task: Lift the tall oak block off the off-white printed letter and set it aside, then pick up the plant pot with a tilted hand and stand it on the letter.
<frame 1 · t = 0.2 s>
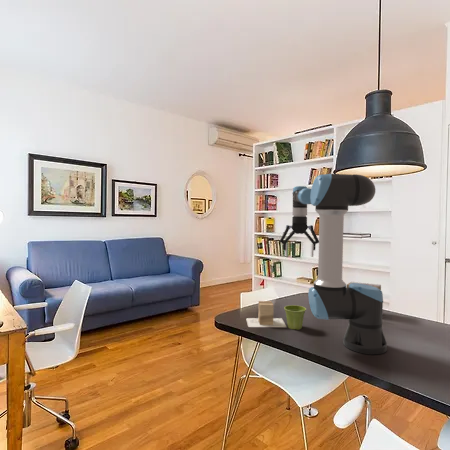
hand: (299, 256, 171), 28 cm above the table, tool pointing down, fingers open, 13 cm apart
tea box: (363, 313, 165), on the table
oak block: (265, 322, 149), resting on letter
letter: (265, 322, 149), on the table
plant pot: (294, 328, 143), on the table
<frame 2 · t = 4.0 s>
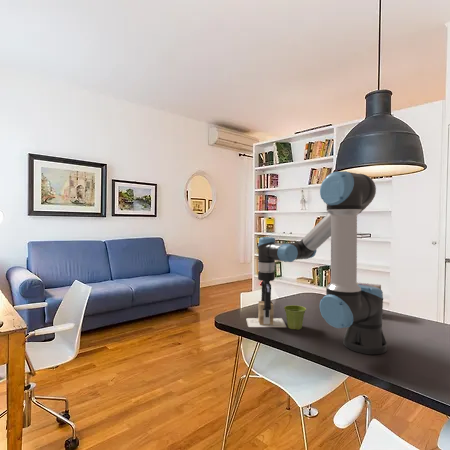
hand: (265, 321, 149), 1 cm above the table, tool pointing down, fingers closed on oak block, 6 cm apart
oak block: (265, 322, 149), resting on letter, touching gripper
everything else where it was.
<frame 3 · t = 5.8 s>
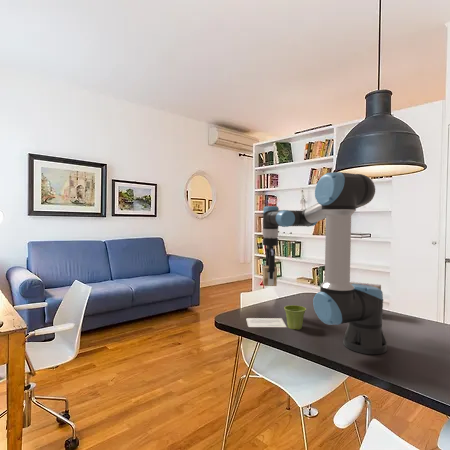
hand: (269, 283, 162), 15 cm above the table, tool pointing down, fingers closed on oak block, 6 cm apart
oak block: (269, 284, 162), point 15 cm above the table, touching gripper
everything else where it was.
when the fingers open (2 cm above the table, at t = 7.6 s): oak block drops 2 cm, on the table.
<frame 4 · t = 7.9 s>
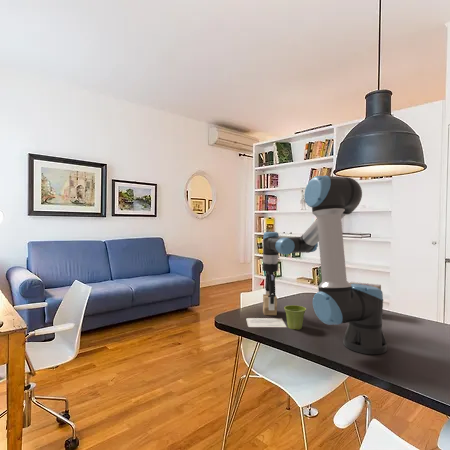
hand: (269, 306, 163), 3 cm above the table, tool pointing down, fingers open, 10 cm apart
oak block: (269, 313, 163), on the table
everything else where it was.
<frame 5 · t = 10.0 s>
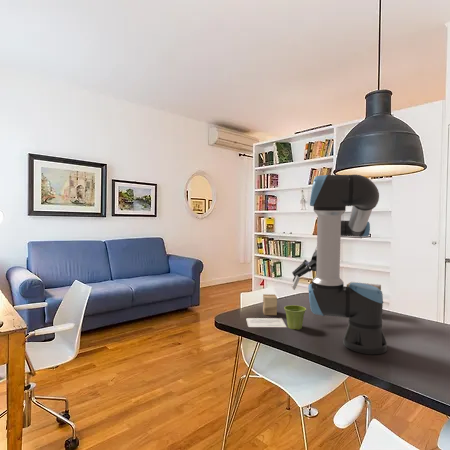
hand: (306, 290, 150), 15 cm above the table, tool tilted 45°, fingers open, 13 cm apart
nothing on the table moved.
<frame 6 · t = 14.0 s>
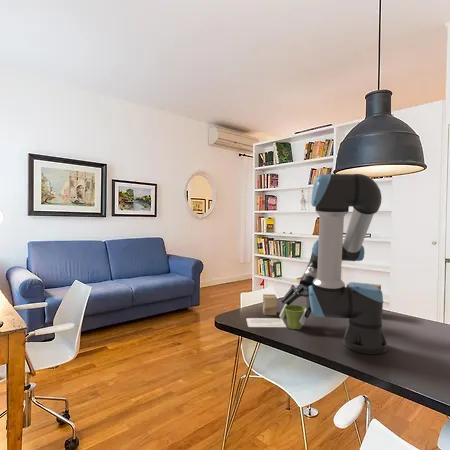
hand: (290, 320, 141), 4 cm above the table, tool tilted 45°, fingers closed on plant pot, 9 cm apart
plant pot: (294, 328, 143), on the table, touching gripper
everything else where it was.
when the fingers open (5 cm above the table, at t = 18.6 s): plant pot stays where it is, resting on letter.
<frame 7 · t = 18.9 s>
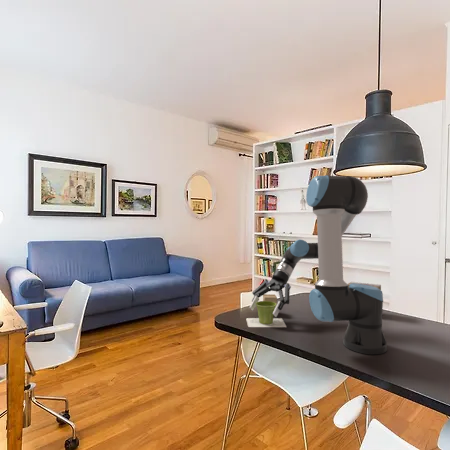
hand: (262, 311, 147), 6 cm above the table, tool tilted 45°, fingers open, 12 cm apart
plant pot: (265, 322, 149), resting on letter
everything else where it was.
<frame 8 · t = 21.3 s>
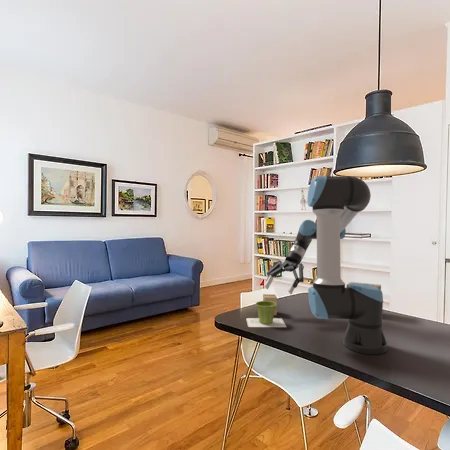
hand: (277, 290, 155), 14 cm above the table, tool tilted 45°, fingers open, 13 cm apart
nothing on the table moved.
at the end: plant pot inside the target area on the letter (0.1 cm from its centre), point 0.0 cm above the letter's base; plant pot tilted 0°; oak block touching table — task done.
